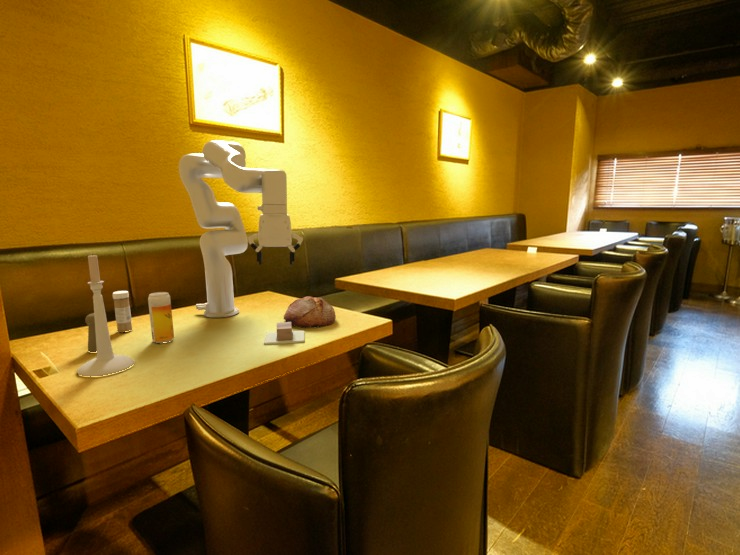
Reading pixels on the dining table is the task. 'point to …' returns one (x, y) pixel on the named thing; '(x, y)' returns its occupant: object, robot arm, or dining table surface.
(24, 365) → the dining table surface
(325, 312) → the bread
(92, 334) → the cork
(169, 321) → the beer can
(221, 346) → the dining table surface
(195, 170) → the robot arm
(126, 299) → the sprinkles bottle
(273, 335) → the mat
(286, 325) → the brown rectangular block
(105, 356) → the candlestick
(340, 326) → the dining table surface
